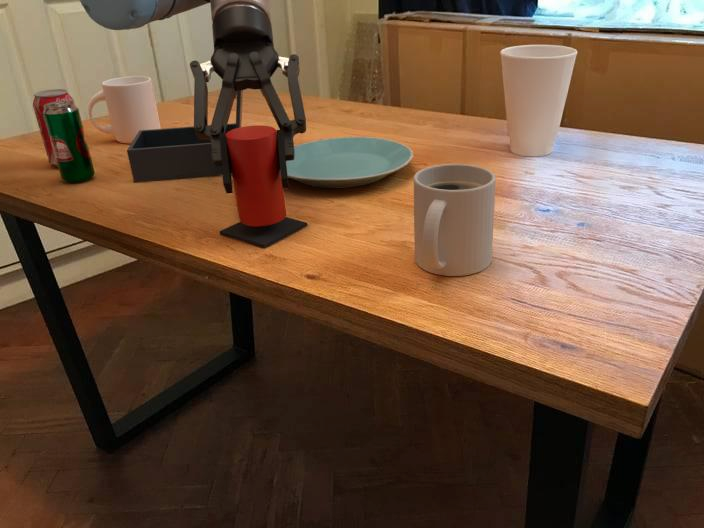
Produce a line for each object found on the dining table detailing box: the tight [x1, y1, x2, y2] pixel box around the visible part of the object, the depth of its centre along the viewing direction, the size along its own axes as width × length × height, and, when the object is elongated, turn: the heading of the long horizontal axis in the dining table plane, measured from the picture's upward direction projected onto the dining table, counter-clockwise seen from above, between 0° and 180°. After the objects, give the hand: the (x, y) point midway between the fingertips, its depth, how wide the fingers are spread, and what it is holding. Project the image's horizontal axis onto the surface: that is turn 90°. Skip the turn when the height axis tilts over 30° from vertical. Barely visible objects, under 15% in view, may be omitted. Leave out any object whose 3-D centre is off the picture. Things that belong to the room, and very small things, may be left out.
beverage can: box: [32, 88, 76, 167], centre depth 111 cm, size 6×6×12 cm
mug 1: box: [87, 75, 162, 145], centre depth 123 cm, size 9×12×11 cm
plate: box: [286, 136, 414, 189], centre depth 104 cm, size 22×22×3 cm
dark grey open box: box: [126, 122, 236, 183], centre depth 108 cm, size 17×12×5 cm
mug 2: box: [413, 163, 497, 277], centre depth 73 cm, size 11×10×10 cm
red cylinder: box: [226, 125, 287, 226], centre depth 82 cm, size 6×6×11 cm
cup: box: [499, 44, 578, 158], centre depth 107 cm, size 12×12×16 cm
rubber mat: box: [219, 216, 308, 249], centre depth 85 cm, size 8×8×1 cm
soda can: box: [43, 101, 96, 184], centre depth 103 cm, size 5×5×12 cm
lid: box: [235, 90, 244, 128], centre depth 104 cm, size 17×12×4 cm
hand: (256, 185), depth 79 cm, fingers closed on red cylinder, 6 cm apart
